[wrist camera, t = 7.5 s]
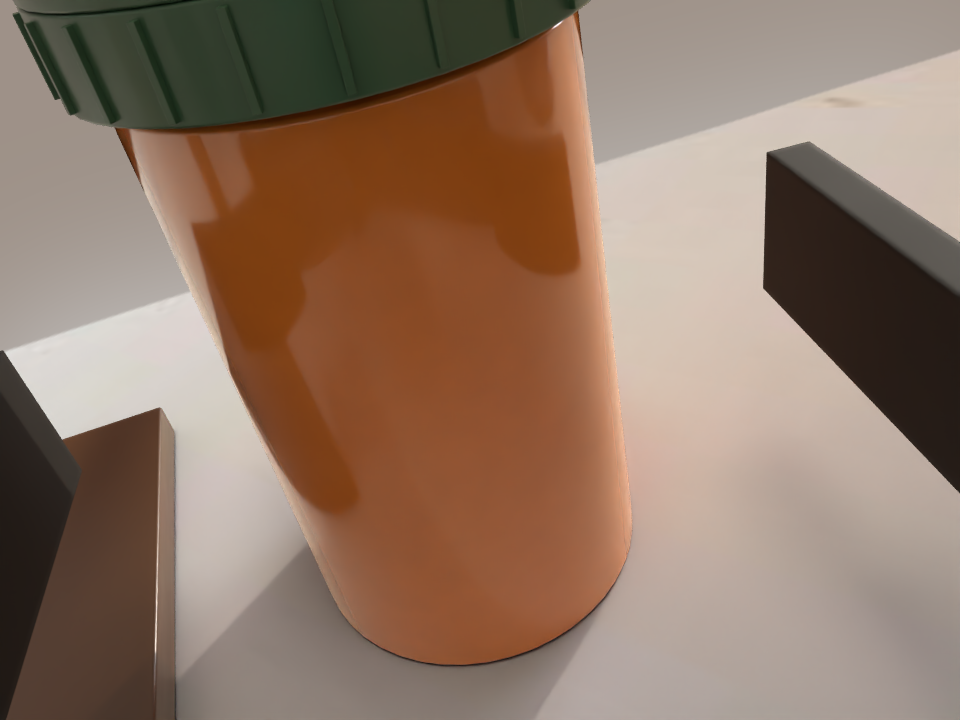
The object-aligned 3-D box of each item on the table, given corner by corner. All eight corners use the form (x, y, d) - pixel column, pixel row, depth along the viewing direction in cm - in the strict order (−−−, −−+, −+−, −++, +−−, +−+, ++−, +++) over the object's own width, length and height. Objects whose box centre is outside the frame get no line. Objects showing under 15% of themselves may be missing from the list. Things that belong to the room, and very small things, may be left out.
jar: (465, 392, 23) (339, -114, 15) (693, 489, 18) (667, -148, 11) (266, 564, 19) (-27, 4, 12) (493, 736, 15) (255, 20, 7)
